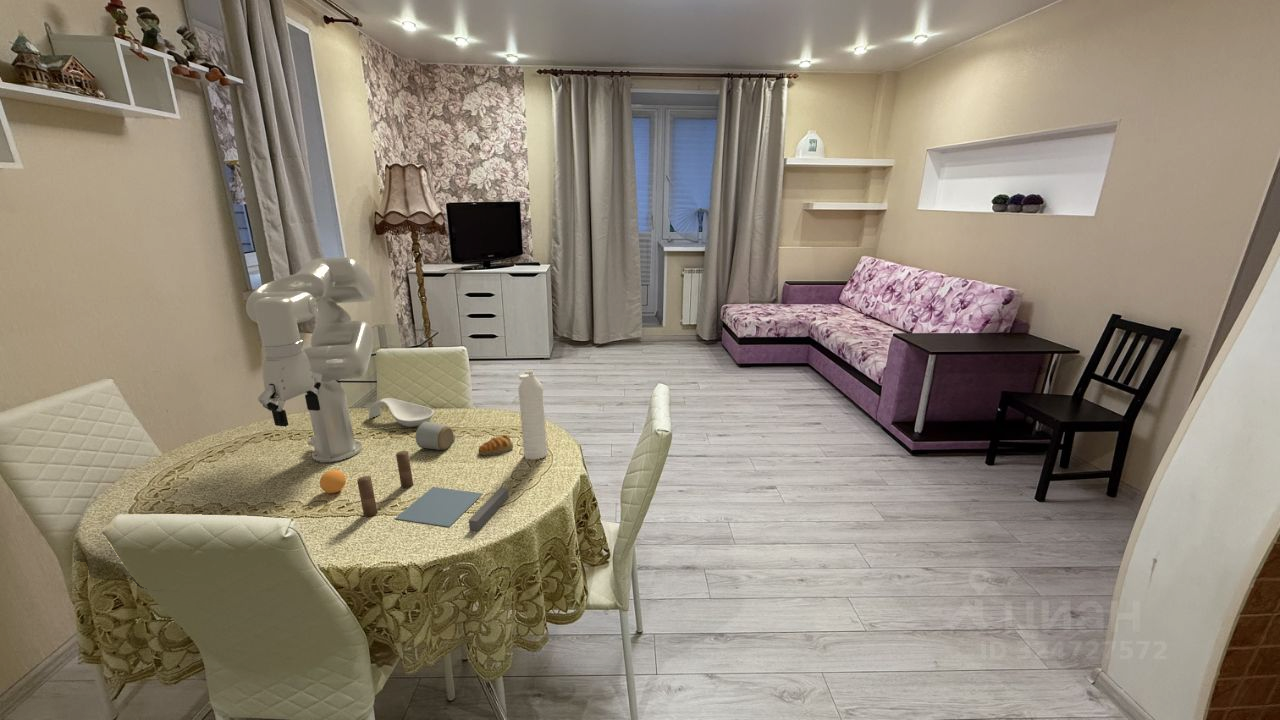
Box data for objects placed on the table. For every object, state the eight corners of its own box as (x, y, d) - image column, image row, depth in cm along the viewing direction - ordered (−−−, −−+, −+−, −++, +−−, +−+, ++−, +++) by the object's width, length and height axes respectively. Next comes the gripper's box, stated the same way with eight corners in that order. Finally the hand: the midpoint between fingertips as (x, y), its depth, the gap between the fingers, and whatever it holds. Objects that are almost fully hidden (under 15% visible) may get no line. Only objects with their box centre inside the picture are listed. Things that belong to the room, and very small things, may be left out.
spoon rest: (442, 419, 175) (439, 399, 173) (416, 433, 164) (413, 412, 162) (387, 411, 183) (384, 391, 181) (359, 424, 172) (355, 403, 170)
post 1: (361, 516, 120) (354, 481, 118) (369, 509, 123) (363, 475, 120) (371, 518, 120) (364, 482, 117) (380, 511, 122) (373, 476, 120)
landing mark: (395, 519, 119) (394, 518, 119) (432, 487, 132) (432, 486, 132) (449, 527, 116) (449, 526, 116) (482, 494, 129) (482, 493, 129)
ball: (316, 496, 129) (312, 475, 128) (334, 484, 134) (330, 464, 133) (335, 498, 128) (331, 478, 126) (352, 487, 133) (348, 467, 131)
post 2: (398, 487, 132) (393, 455, 130) (406, 482, 135) (401, 450, 132) (408, 489, 132) (403, 456, 129) (415, 483, 134) (410, 451, 132)
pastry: (484, 460, 146) (483, 447, 145) (474, 452, 151) (473, 440, 150) (515, 449, 152) (514, 437, 151) (504, 442, 157) (503, 430, 156)
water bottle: (528, 449, 152) (521, 366, 144) (550, 450, 151) (544, 367, 144) (518, 463, 143) (510, 376, 136) (541, 464, 143) (534, 377, 135)
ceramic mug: (441, 455, 149) (438, 430, 147) (416, 451, 151) (413, 427, 149) (462, 439, 159) (460, 416, 157) (439, 437, 161) (436, 413, 159)
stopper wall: (469, 530, 114) (468, 520, 114) (501, 496, 127) (500, 487, 127) (478, 531, 114) (476, 521, 113) (508, 497, 127) (507, 488, 126)
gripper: (299, 340, 132) (313, 403, 137) (236, 360, 116) (254, 431, 121) (325, 341, 131) (338, 405, 136) (265, 361, 114) (281, 433, 119)
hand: (298, 417), depth 128 cm, fingers open, 9 cm apart
